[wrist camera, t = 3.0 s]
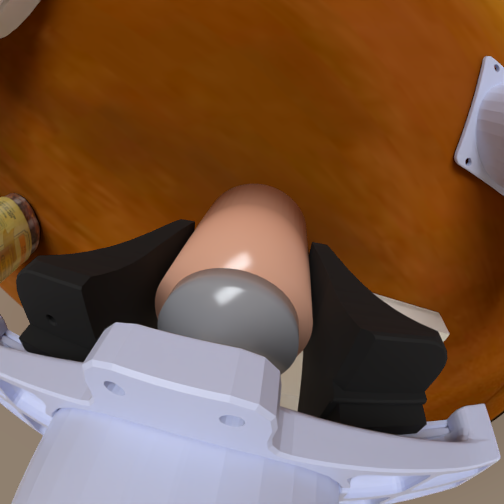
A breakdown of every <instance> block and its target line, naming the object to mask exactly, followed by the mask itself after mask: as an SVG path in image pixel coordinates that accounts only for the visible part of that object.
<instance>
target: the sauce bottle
mask: <svg viewBox="0 0 504 504" xmlns="http://www.w3.org/2000/svg"><path fill="white" fill-rule="evenodd" d="M39 234H40V226H39V222H38V220H37V219H36V216H35V213H34V211H33V209H32V207H31V206H30V205H29V203H28V202H27V201H26V199H24V198H23V197H22V196H21V195H18V194H16V193H10V194H9V195H7V196H5V197H0V283H1V282H2V281H3V280H4V279H5V278H7V277H8V276H9V275H10V274H11V273H12V272H13V271H14V270H16V269H17V268H18V267H19V266H20V265H21V264H23V263H24V262H25V261H26V260H27V259H28V258H29V256H30V255H31V254H32V253H34V251H35V250H36V249H37V246H38V244H39V237H40V236H39Z"/></svg>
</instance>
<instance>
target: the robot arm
mask: <svg viewBox="0 0 504 504" xmlns="http://www.w3.org/2000/svg"><path fill="white" fill-rule="evenodd" d="M494 65H495V67H496V70H495V69H494ZM467 158H468V163H467V164H466V163H465V161H466V159H467ZM454 160H455V162H456V163H457V164H458V165H460V166H461V167H463V168H464V169H466V170H467V171H469V172H470V173H472V174H473V175H475V176H476V177H478V178H479V179H481V180H482V181H484V182H485V183H487V184H488V185H489V186H491V187H492V188H494V189H495V190H496V191H498V192H499V193H500V194H502V195H503V196H504V67H503V66H502V65H501V64H499V63H498V62H497V61H496V60H495V59H494V58H492V57H491V56H485V57H484V59H483V62H482V67H481V71H480V75H479V79H478V83H477V87H476V91H475V94H474V98H473V101H472V105H471V108H470V111H469V114H468V117H467V121H466V124H465V127H464V129H463V132H462V135H461V138H460V141H459V144H458V146H457V149H456V152H455V155H454ZM194 229H195V222H194V221H188V220H182V219H181V220H177V221H175V222H172V223H170V224H168V225H165V226H163V227H161V228H159V229H156V230H154V231H152V232H150V233H147V234H145V235H142V236H140V237H137V238H135V239H132V240H130V241H127V242H124V243H121V244H117V245H114V246H111V247H107V248H102V249H97V250H93V251H88V252H82V253H75V254H65V255H45V256H37V257H36V258H35V259H34V260H33V261H32V262H30V263H29V264H28V265H27V266H26V267H25V268H24V269H22V270H21V271H20V273H19V274H18V275H17V280H16V284H17V292H18V295H19V298H20V301H21V303H22V306H23V308H24V310H25V313H26V315H27V318H28V320H29V322H30V325H29V326H28V327H27V328H26V330H25V331H24V332H23V333H22V335H21V336H19V335H17V334H15V333H13V332H12V331H10V330H8V329H7V325H6V323H5V321H4V319H3V317H2V316H1V315H0V403H1V404H2V405H3V406H4V407H6V408H7V409H8V410H9V411H11V412H12V413H13V414H14V415H16V416H17V417H18V418H20V419H21V420H22V421H24V422H25V423H26V424H28V425H29V426H30V427H32V428H33V429H35V430H36V431H37V432H39V433H40V434H42V435H43V437H42V439H41V441H40V443H39V445H38V447H37V449H36V451H35V453H34V455H33V457H32V459H31V461H30V463H29V465H28V467H27V469H26V471H25V474H24V476H23V478H22V480H21V482H20V485H19V487H18V489H17V492H16V494H15V496H14V499H13V501H12V503H11V504H393V503H397V502H402V501H406V500H410V499H414V498H418V497H422V496H426V495H430V494H434V493H437V492H441V491H444V490H448V489H451V488H455V487H457V486H458V485H460V484H462V483H464V482H466V481H467V480H469V479H471V478H472V477H474V476H476V475H477V474H479V473H481V472H482V471H484V470H485V469H487V468H488V467H489V466H491V465H493V464H494V463H496V462H497V461H499V459H500V453H499V449H498V446H497V442H496V438H495V435H494V432H493V428H492V425H491V422H490V419H489V416H488V413H487V410H486V407H485V404H476V405H468V406H463V407H461V408H459V409H457V410H456V411H455V412H453V413H452V414H451V416H450V417H449V418H448V419H447V420H439V421H430V422H426V418H425V414H424V409H423V405H422V404H425V403H426V400H427V398H426V395H425V391H426V389H427V388H428V387H429V386H430V385H431V384H432V382H433V381H434V380H435V379H436V378H437V376H438V375H439V374H440V372H441V371H442V369H443V368H444V366H445V364H446V361H447V350H446V348H445V346H444V343H443V341H442V339H441V336H440V334H439V332H438V331H436V330H434V329H432V328H430V327H428V326H425V325H423V324H421V323H419V322H417V321H415V320H413V319H411V318H409V317H407V316H406V315H404V314H402V313H400V312H399V311H397V310H396V309H394V308H392V307H391V306H390V305H388V304H387V303H385V302H384V301H382V300H381V299H380V298H378V297H377V296H376V295H375V294H373V293H372V292H371V291H370V290H369V289H368V288H366V287H365V286H364V285H363V284H362V283H361V282H360V281H359V280H358V279H357V278H356V277H355V276H354V275H353V274H352V273H351V272H350V271H349V270H348V269H347V267H346V266H345V265H344V264H343V263H342V262H341V261H340V259H339V258H338V257H337V256H336V255H335V253H334V252H333V251H332V250H331V249H330V248H329V247H328V246H327V245H325V244H319V243H314V242H312V245H311V249H310V253H309V266H310V281H311V297H312V317H313V327H312V333H311V337H310V339H309V341H308V343H307V345H306V347H305V348H304V349H303V361H302V375H301V385H300V395H299V403H298V411H294V410H291V409H288V408H285V407H282V406H280V398H281V386H282V384H281V375H280V371H279V370H278V369H277V368H276V367H275V366H274V365H273V364H272V363H271V362H270V361H269V360H268V359H266V358H265V357H264V356H261V355H258V354H256V353H253V352H250V351H247V350H245V349H242V348H238V347H232V346H227V345H222V344H217V343H213V342H208V341H203V340H199V339H195V338H190V337H186V336H182V335H178V334H174V333H170V332H166V331H162V330H158V319H157V315H156V310H155V297H156V292H157V289H158V286H159V284H160V282H161V281H162V279H163V278H164V276H165V274H166V273H167V271H168V270H169V268H170V267H171V265H172V264H173V262H174V261H175V259H176V258H177V256H178V254H179V253H180V251H181V250H182V248H183V247H184V245H185V244H186V242H187V241H188V239H189V238H190V237H191V235H192V234H193V232H194Z"/></svg>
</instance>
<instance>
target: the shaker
mask: <svg viewBox="0 0 504 504" xmlns="http://www.w3.org/2000/svg"><path fill="white" fill-rule="evenodd" d="M155 310H156V315H157V319H158V330H162V331H166V332H170V333H174V334H178V335H182V336H186V337H190V338H195V339H199V340H203V341H208V342H213V343H217V344H222V345H227V346H232V347H238V348H242V349H245V350H247V351H250V352H253V353H256V354H258V355H261V356H264V357H265V358H266V359H268V360H269V361H270V362H271V363H272V364H273V365H274V366H275V367H276V368H277V369H278V370H279V371H280V375H281V374H283V373H284V372H285V371H286V370H288V369H289V368H290V366H291V365H292V364H293V363H294V361H295V359H296V357H297V356H298V355H299V354H300V353H301V352H302V351H303V349H304V348H305V347H306V345H307V343H308V341H309V339H310V337H311V333H312V327H313V317H312V297H311V281H310V266H309V253H308V241H307V229H306V223H305V219H304V216H303V214H302V212H301V210H300V208H299V207H298V205H297V204H296V203H295V202H294V201H293V200H292V199H291V198H290V197H289V196H288V195H286V194H285V193H284V192H282V191H280V190H278V189H276V188H273V187H271V186H267V185H263V184H245V185H240V186H237V187H234V188H232V189H229V190H228V191H226V192H224V193H223V194H222V195H221V196H219V197H218V199H217V200H216V201H215V202H214V203H213V205H212V206H211V208H210V209H209V210H208V212H207V213H206V215H205V216H204V218H203V219H202V220H201V222H200V223H199V225H198V226H197V228H196V229H195V231H194V232H193V234H192V235H191V237H190V238H189V239H188V241H187V242H186V244H185V245H184V247H183V248H182V250H181V251H180V253H179V254H178V256H177V258H176V259H175V261H174V262H173V264H172V265H171V267H170V268H169V270H168V271H167V273H166V274H165V276H164V278H163V279H162V281H161V282H160V284H159V286H158V289H157V292H156V297H155Z"/></svg>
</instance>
